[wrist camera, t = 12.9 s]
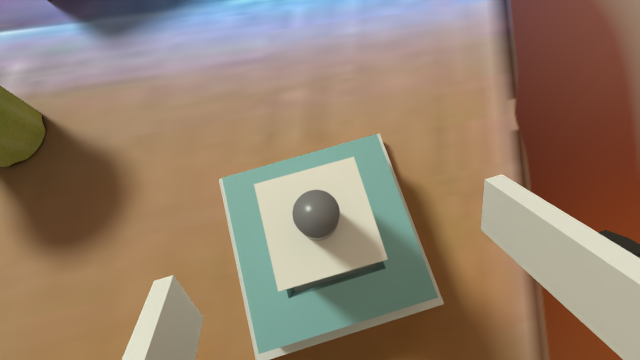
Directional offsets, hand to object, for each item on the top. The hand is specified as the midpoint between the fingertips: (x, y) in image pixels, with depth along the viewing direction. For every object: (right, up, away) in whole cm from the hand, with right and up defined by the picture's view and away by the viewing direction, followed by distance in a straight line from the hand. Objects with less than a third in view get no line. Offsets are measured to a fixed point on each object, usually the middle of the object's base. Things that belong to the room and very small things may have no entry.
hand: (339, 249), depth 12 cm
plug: (-1, -2, +10) cm, 10 cm away
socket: (0, -2, +11) cm, 11 cm away
